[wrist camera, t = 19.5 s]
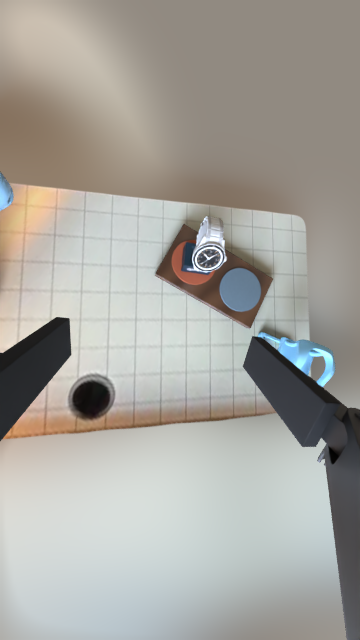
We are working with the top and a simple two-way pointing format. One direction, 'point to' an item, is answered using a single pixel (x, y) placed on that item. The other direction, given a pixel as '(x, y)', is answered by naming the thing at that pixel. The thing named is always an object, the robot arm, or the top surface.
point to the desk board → (213, 281)
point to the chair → (305, 355)
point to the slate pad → (240, 289)
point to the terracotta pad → (187, 276)
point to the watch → (205, 248)
